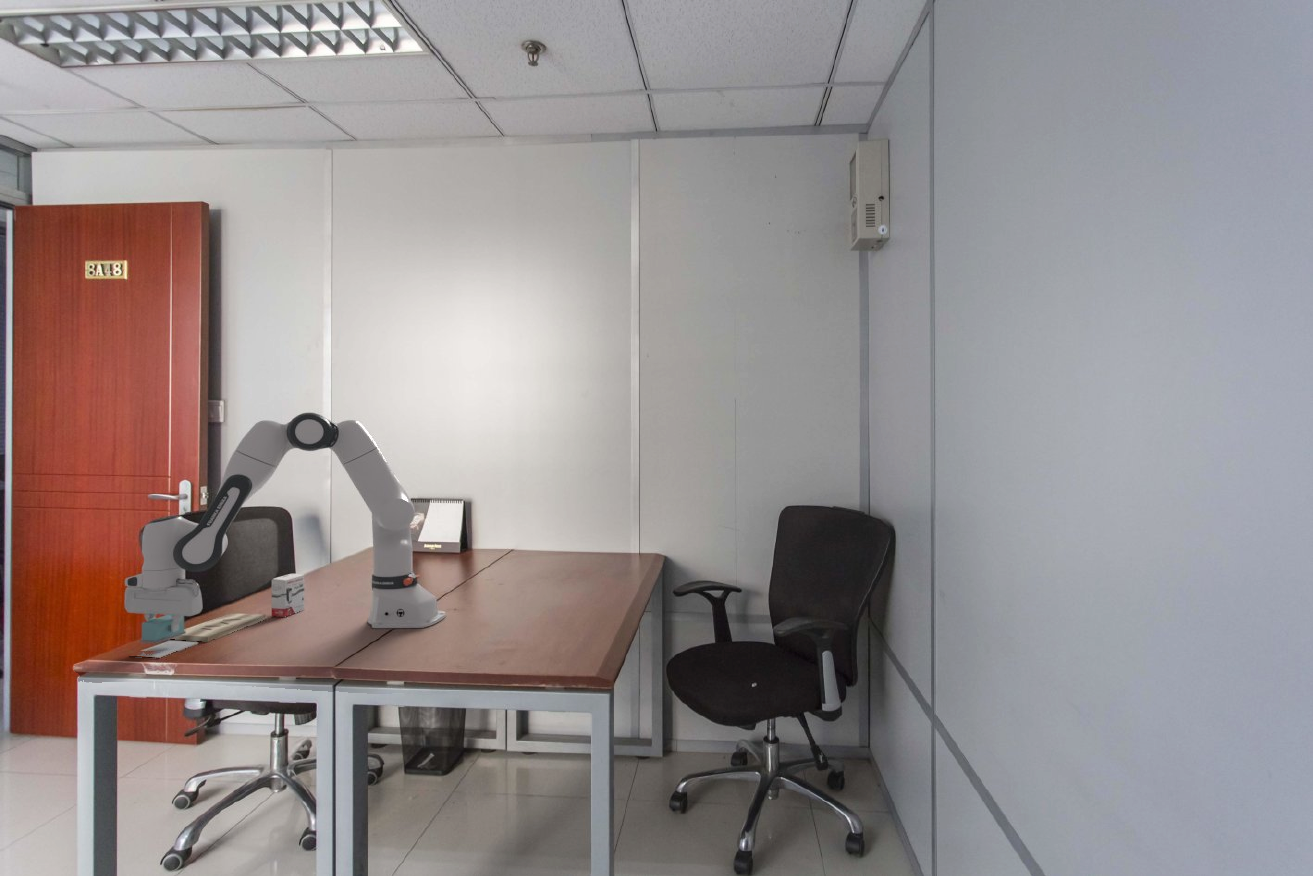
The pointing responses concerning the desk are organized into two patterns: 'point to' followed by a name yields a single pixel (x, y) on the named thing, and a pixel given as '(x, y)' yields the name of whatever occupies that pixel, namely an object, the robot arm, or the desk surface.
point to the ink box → (287, 595)
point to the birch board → (219, 627)
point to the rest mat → (167, 648)
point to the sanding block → (160, 630)
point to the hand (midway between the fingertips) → (164, 630)
